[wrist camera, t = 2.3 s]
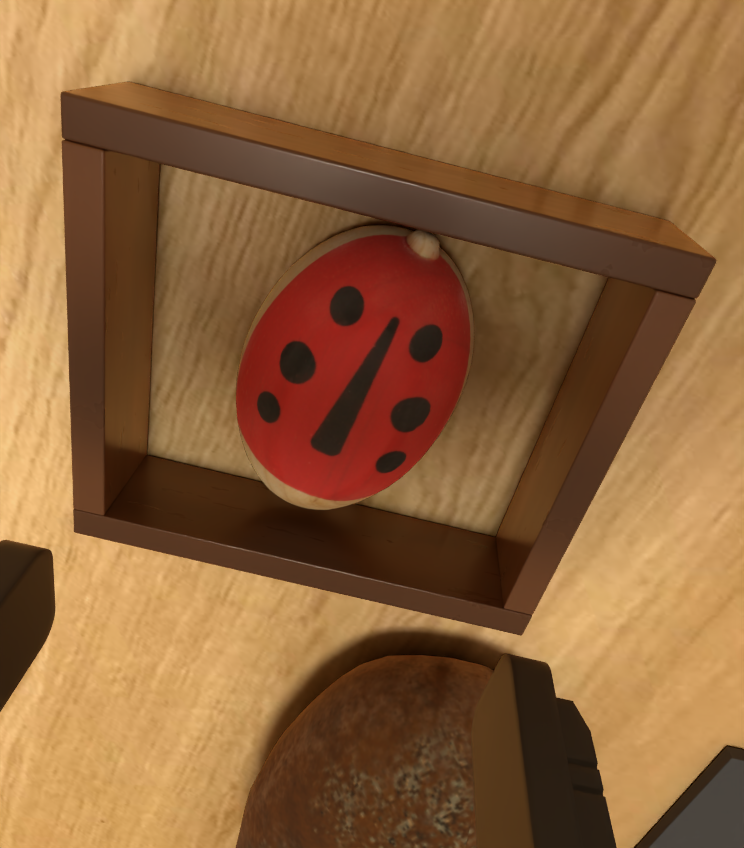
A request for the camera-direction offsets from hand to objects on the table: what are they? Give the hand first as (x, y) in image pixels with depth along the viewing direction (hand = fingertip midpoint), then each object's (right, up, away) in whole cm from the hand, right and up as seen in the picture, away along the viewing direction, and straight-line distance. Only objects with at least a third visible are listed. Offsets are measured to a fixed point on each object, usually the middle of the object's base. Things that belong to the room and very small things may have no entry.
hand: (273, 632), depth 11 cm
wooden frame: (+1, +6, +9) cm, 11 cm away
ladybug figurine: (+1, +6, +9) cm, 11 cm away
